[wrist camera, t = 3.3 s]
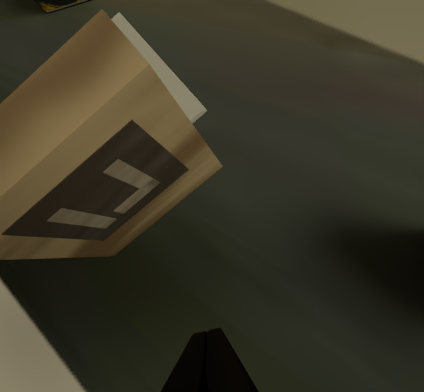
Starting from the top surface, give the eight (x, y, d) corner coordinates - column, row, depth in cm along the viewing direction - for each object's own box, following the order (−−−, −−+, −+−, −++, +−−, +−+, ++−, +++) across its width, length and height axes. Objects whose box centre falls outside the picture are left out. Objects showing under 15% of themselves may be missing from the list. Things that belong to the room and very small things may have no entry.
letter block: (223, 167, 21) (150, 65, 9) (114, 257, 22) (-72, 264, 10) (195, 133, 22) (102, 8, 11) (93, 219, 23) (-91, 189, 12)
